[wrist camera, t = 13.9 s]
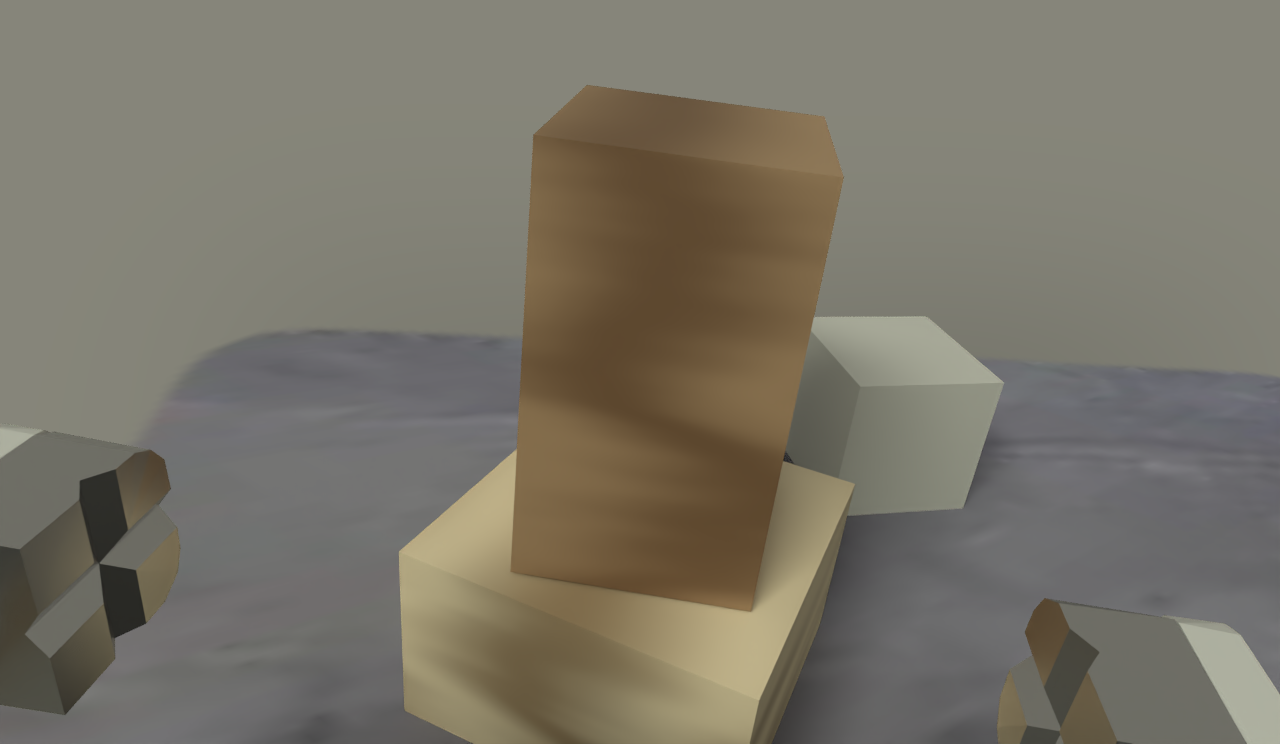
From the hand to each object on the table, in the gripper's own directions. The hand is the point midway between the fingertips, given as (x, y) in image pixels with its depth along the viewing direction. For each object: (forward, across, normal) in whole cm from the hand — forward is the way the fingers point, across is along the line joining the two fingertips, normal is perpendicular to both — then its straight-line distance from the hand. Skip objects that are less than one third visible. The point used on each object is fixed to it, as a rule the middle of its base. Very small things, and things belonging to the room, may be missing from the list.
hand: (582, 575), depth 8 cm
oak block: (+11, 0, +12) cm, 16 cm away
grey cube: (+22, -7, +12) cm, 26 cm away
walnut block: (+10, 0, +7) cm, 12 cm away
